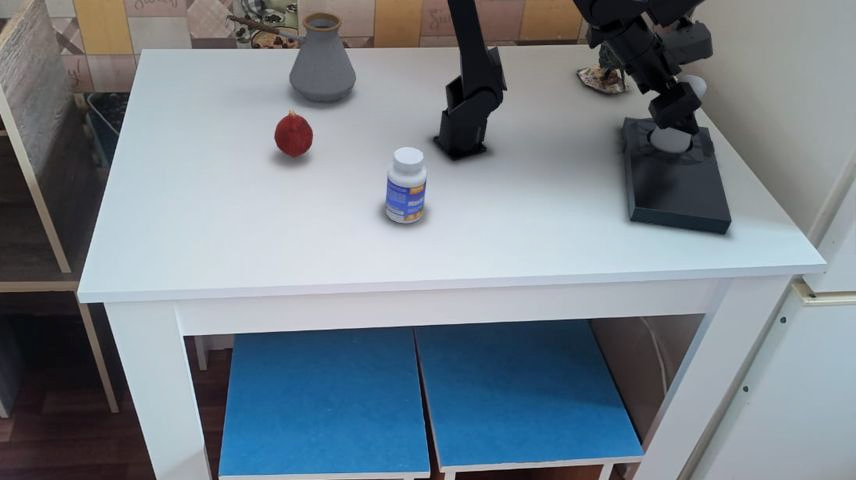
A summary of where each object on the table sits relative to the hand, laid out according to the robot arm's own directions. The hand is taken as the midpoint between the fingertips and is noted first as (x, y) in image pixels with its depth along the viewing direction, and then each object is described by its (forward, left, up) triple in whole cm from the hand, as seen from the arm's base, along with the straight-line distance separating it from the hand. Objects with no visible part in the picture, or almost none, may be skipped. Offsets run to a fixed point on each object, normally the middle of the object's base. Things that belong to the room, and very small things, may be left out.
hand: (687, 116), depth 111 cm
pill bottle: (-46, +5, -7) cm, 47 cm away
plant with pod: (+4, +22, -7) cm, 23 cm away
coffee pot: (-48, +41, -7) cm, 63 cm away
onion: (-55, +24, -7) cm, 60 cm away
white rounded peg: (-1, +1, -7) cm, 7 cm away
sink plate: (-5, -5, -7) cm, 10 cm away
